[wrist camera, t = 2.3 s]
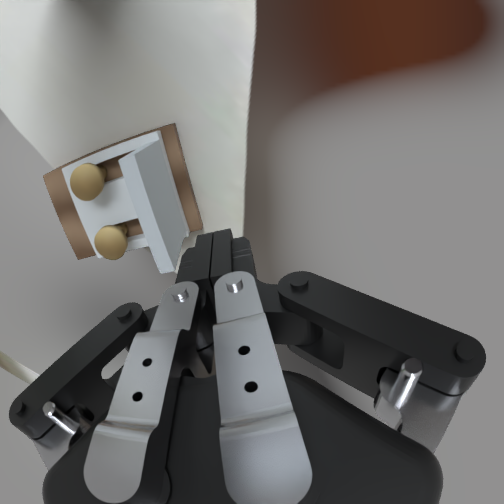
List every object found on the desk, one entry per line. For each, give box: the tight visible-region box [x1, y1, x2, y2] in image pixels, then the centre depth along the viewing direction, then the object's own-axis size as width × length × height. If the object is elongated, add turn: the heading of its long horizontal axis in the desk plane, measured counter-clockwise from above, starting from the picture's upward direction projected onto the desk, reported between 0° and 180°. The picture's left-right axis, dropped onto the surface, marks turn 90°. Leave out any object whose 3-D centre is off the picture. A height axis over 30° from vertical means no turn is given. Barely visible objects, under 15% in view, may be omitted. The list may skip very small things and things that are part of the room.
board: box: [43, 123, 203, 260], centre depth 24 cm, size 11×16×5 cm
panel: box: [62, 130, 190, 274], centre depth 22 cm, size 11×11×8 cm
